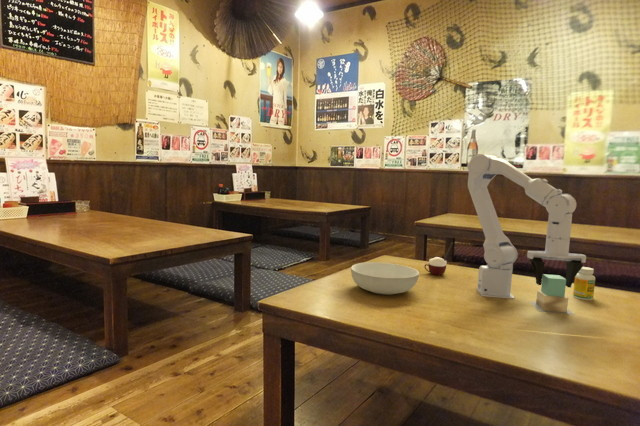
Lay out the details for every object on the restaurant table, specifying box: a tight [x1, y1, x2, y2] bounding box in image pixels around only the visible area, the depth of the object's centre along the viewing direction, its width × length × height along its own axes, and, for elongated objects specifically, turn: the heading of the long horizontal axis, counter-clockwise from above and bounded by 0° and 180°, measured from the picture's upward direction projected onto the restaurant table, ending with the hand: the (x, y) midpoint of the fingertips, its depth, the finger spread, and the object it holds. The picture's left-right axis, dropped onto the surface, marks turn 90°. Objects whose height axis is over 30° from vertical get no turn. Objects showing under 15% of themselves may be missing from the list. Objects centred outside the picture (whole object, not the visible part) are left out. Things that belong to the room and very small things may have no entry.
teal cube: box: [540, 273, 567, 297], centre depth 117 cm, size 4×4×5 cm
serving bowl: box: [350, 261, 420, 296], centre depth 130 cm, size 21×21×7 cm
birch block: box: [535, 289, 569, 312], centre depth 118 cm, size 6×6×4 cm
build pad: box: [528, 300, 576, 316], centre depth 118 cm, size 9×9×1 cm
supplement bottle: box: [572, 266, 596, 301], centre depth 129 cm, size 5×5×10 cm
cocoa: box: [423, 242, 454, 276], centre depth 152 cm, size 10×6×12 cm, turn 58°
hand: (553, 285), depth 117 cm, fingers open, 7 cm apart
